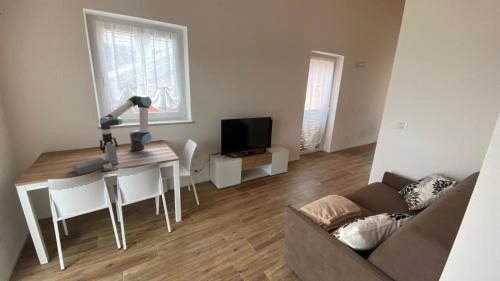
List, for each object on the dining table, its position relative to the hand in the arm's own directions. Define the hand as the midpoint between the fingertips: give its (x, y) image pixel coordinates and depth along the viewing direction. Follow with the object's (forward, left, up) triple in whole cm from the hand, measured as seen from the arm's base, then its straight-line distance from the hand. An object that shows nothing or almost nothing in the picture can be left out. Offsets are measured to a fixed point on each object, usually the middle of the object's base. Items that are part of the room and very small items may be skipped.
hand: (110, 154), depth 208 cm
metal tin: (+9, +14, -8) cm, 19 cm away
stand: (+18, 0, -8) cm, 20 cm away
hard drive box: (0, 0, -8) cm, 8 cm away
